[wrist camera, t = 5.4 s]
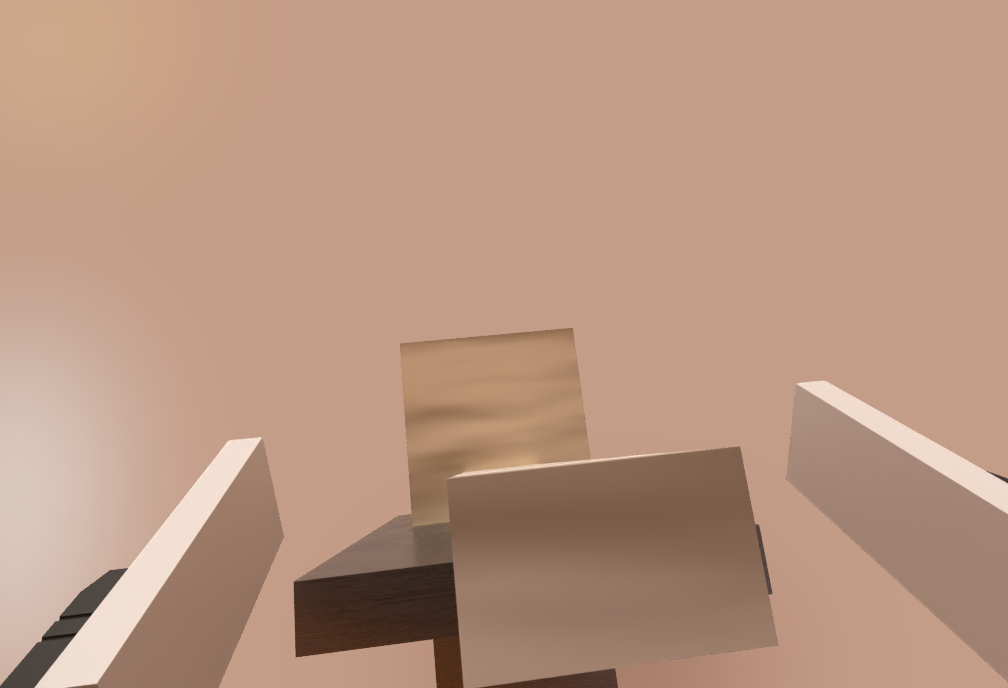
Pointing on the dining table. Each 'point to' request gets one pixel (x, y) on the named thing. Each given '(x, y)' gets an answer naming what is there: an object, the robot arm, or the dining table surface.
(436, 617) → the stand
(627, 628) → the wooden l-shaped block
